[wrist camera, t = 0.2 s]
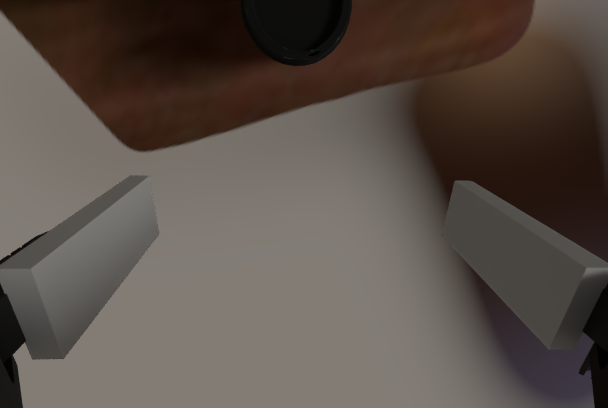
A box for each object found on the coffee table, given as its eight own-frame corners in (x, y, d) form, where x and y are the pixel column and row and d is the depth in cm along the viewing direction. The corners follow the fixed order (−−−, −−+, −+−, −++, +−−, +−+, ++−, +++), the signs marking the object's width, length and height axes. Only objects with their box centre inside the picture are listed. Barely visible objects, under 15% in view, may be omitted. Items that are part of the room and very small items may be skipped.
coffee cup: (271, 77, 37) (263, 82, 23) (242, -2, 34) (213, -51, 20) (339, 52, 36) (372, 41, 23) (316, -32, 33) (338, -104, 19)
